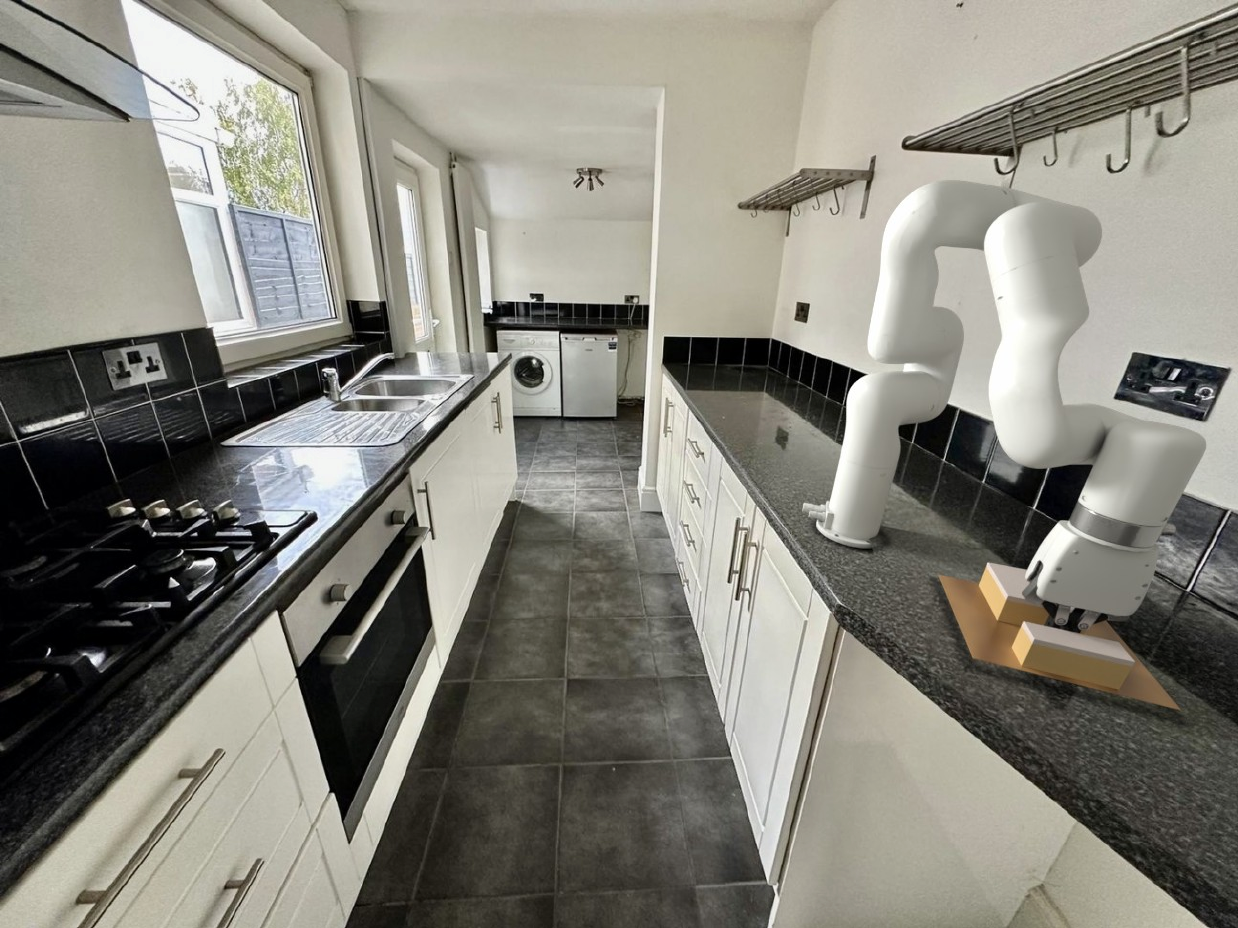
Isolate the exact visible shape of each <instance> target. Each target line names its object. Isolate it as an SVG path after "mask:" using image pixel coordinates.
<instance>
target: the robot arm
mask: <svg viewBox="0 0 1238 928" xmlns="http://www.w3.org/2000/svg"><path fill="white" fill-rule="evenodd" d="M1102 238H1103V227H1102V224H1101V222H1100V220H1099V218H1098V216H1097V215H1096V214H1095V213H1094V212H1093V211H1091V210H1090V209H1088V208H1086V207H1083V206H1080V205H1079V206H1078V205H1073V204H1069V203H1067V202H1063V201H1057V200H1055V199H1054V200H1053V199H1050V198H1046V197H1044V196H1040V195H1036V194H1032V193H1029V192H1025V191H1022V190H1018V189H1014V188H1010V187H1006V186H1000V185H994V184H993V185H992V184H986V183H979V182H974V181H967V180H961V179H959V180H957V179H946V180H937V181H933V182H929V183H927V184H925V185H922V186H920V187H918V188H917V189H915V190H913V191H912V192H911V193H909V194H908V195H907V196H906V197H905V198H904V199H903V200H902V201H900V203H899V204H898V205H897V206H896V208H895V209H894V211H893V212H892V213H891V215H890V216H889V219H888V221H887V223H886V226H885V229H884V232H883V235H882V243H881V251H880V268H879V278H878V282H877V288H876V292H875V299H874V303H873V308H872V313H871V319H870V325H869V329H868V335H867V352H868V354H869V356H870V357H871V359H873V361H876V362H878V363H881V364H885V365H903V370H891V371H878V372H874V373H869V374H866V375H864V376H862V377H860V378H859V379H858V380H856V381H855V382H854V383H853V384H852V386H851V387H850V388H849V391H848V393H847V397H846V410H845V411H846V417H845V418H846V420H845V430H844V436H843V441H842V446H841V449H840V456H839V460H838V465H837V468H836V474H835V477H834V482H833V486H832V491H831V495H830V500H826V501H825V504H820V505H817V504H816V505H815V504H813V503H807V502H803V505H802V509H801V511H802V513H806V514H808V518H810V519H816V522H815V526H816V529H817V530H818V531H819V532H820V533H821V535H823V536H824V537H825V538H827V539H829V540H831V541H832V542H835V543H837V544H840V545H842V546H847V547H851V548H857V549H873V545H872V541H871V539H872V538H875V537H876V536H878V535H879V532H880V529H881V524H882V521H883V517H884V513H885V510H886V507H887V503H888V499H889V496H890V492H891V488H892V485H893V482H894V477H895V474H896V470H897V469H898V468H897V467H898V463H899V459H900V455H901V439H900V434H899V427H900V426H904V425H911V424H921V423H926V422H929V421H933V419H935V418H937V417H938V416H940V415H941V414H942V412H943V411H944V410H945V409H946V407H947V405H948V403H949V400H950V397H951V394H952V390H953V386H954V382H955V378H956V375H957V370H958V367H959V363H960V359H961V354H962V352H963V351H962V350H963V348H964V347H963V346H964V341H965V330H964V325H963V323H962V320H961V318H960V316H958V314H957V313H956V312H955V311H953V310H952V309H949V308H947V307H944V306H937V305H936V306H934V304H935V298H936V294H937V293H936V292H937V289H938V286H939V277H940V273H939V264H938V261H937V260H938V259H937V256H936V250H937V249H938V248H941V247H947V248H948V247H949V248H959V249H972V250H979V251H982V252H984V257H985V262H986V267H987V271H988V276H989V281H990V285H991V289H992V294H993V299H994V303H995V308H996V312H997V317H998V322H999V326H1000V331H1001V339H1000V342H999V346H998V348H997V350H996V352H995V355H994V359H993V363H992V367H991V371H990V375H989V381H988V401H989V406H990V413H991V417H992V421H993V422H992V423H993V426H994V430H995V433H996V436H997V439H998V440H997V441H998V442H999V444H1000V446H1001V448H1002V450H1003V451H1004V452H1005V454H1006V455H1007V457H1009V459H1010V460H1012V461H1013V462H1014V463H1017V464H1018V465H1021V466H1023V467H1025V468H1029V469H1038V470H1040V469H1041V470H1043V469H1052V468H1059V467H1064V466H1069V465H1092V468H1091V470H1090V472H1089V475H1088V477H1087V479H1086V481H1085V483H1084V485H1083V487H1082V490H1081V492H1080V495H1079V497H1078V499H1077V501H1076V503H1075V506H1074V507H1073V510H1072V512H1071V514H1070V517H1069V519H1068V520H1064V519H1063V520H1062V519H1061V520H1058V522H1057V523H1056V524H1055V526H1054V527H1053V528H1052V529H1051V530H1050V532H1049V533H1048V534H1047V535H1046V537H1044V540H1043V541H1042V543H1041V544H1040V545H1039V547H1038V549H1037V551H1036V552H1035V554H1034V556H1033V557H1032V559H1031V561H1030V563H1029V565H1028V567H1027V569H1026V570H1027V572H1026V575H1025V578H1026V580H1027V581H1028V582H1030V584H1029V585H1028V586H1027V587H1026V588H1025V589H1024V590H1023V592H1022V595H1023V596H1024V598H1025V599H1026V601H1028V602H1030V603H1033V604H1035V605H1038V606H1041V607H1044V608H1045V610H1046V611H1047V612H1048V613H1049V616H1048V618H1047V620H1046V622H1045V624H1044V626H1047V627H1052V628H1056V629H1061V630H1066V631H1070V632H1075V633H1079V634H1080V633H1081V631H1082V630H1088V629H1089V628H1090V627H1091V626H1092V625H1093V624H1096V623H1099V622H1103V621H1105V620H1106V621H1107V622H1128V621H1129V619H1130V616H1132V615H1133V614H1135V613H1136V612H1137V610H1138V609H1139V608H1140V606H1141V605H1142V603H1143V601H1144V599H1145V597H1146V595H1147V593H1148V591H1149V588H1150V586H1151V583H1152V580H1153V578H1154V575H1155V572H1156V568H1157V565H1158V559H1159V553H1160V547H1159V545H1158V544H1157V543H1158V542H1159V540H1160V538H1161V536H1168V537H1169V536H1170V537H1172V536H1174V535H1175V534H1176V531H1177V528H1176V526H1175V524H1171V523H1168V520H1169V519H1170V517H1171V515H1172V513H1173V512H1174V509H1175V508H1176V506H1177V505H1178V503H1179V500H1181V497H1182V495H1183V493H1184V491H1185V490H1186V488H1187V486H1188V484H1189V482H1190V481H1191V479H1192V477H1193V475H1194V473H1195V471H1196V469H1197V467H1198V466H1199V464H1200V462H1201V460H1202V458H1203V456H1204V454H1205V452H1206V449H1207V441H1206V438H1205V437H1204V436H1203V435H1202V434H1201V433H1199V432H1196V431H1195V430H1192V429H1190V428H1186V427H1182V426H1179V425H1174V424H1170V423H1166V422H1165V423H1164V422H1161V421H1160V422H1159V421H1153V420H1144V419H1141V418H1137V417H1134V416H1131V415H1128V414H1125V413H1123V412H1121V411H1118V410H1115V409H1112V408H1110V407H1106V406H1103V405H1101V404H1095V403H1088V402H1087V403H1085V402H1081V403H1080V402H1079V403H1069V404H1067V403H1066V404H1064V403H1063V398H1062V394H1061V389H1060V384H1059V364H1060V358H1061V355H1062V353H1063V350H1064V349H1065V347H1066V345H1067V343H1068V342H1069V340H1070V339H1071V338H1072V337H1073V336H1074V335H1075V334H1076V333H1077V331H1078V330H1080V328H1081V327H1082V326H1083V325H1085V323H1086V322H1087V321H1088V319H1089V316H1090V307H1089V302H1088V299H1087V294H1086V290H1085V287H1084V283H1083V278H1082V273H1081V269H1080V268H1081V267H1082V266H1084V265H1085V264H1086V263H1088V261H1090V260H1091V259H1092V258H1093V257H1094V256H1095V254H1096V253H1097V251H1098V249H1099V248H1100V245H1101V242H1102ZM1071 607H1072V608H1071Z"/></svg>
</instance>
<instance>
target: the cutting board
mask: <svg viewBox="0 0 1238 928" xmlns="http://www.w3.org/2000/svg"><path fill="white" fill-rule="evenodd" d="M938 578H939V580H940V583H941V585H942V588H943V589H944V592H945V595H946V597H947V599H948V601H949V602H948V603H949V605H950V606H951V609H952V611H953V614H954V617H955V619H956V621H957V623H958V626H959V628H960V631H961V633H962V635H963V638H964V640H965V642H966V645H967V647H968V649H969V652H970V654H971V655H970V656H971V657H972V659H973V660H979V661H982V662H986V663H990V664H994V665H998V666H1002V667H1006V668H1009V669H1014V670H1019V671H1022V672H1025V673H1030V674H1034V675H1038V676H1043V677H1046V678H1051V679H1054V680H1058V681H1062V682H1065V683H1069V684H1074V685H1078V686H1082V687H1085V688H1090V689H1094V690H1097V691H1102V692H1106V693H1109V694H1114V695H1117V696H1122V697H1126V698H1130V699H1134V700H1138V701H1142V702H1145V703H1149V704H1153V705H1158V706H1162V707H1166V708H1168V709H1169V708H1170V709H1173V710H1177V711H1178V710H1179V711H1182V709H1181V708H1180V707H1179V706H1178V704H1177V703H1176V702H1175V700H1173V698H1172V697H1171V696H1170V695H1169V693H1168V692H1167V691H1166V690H1165V688H1163V686H1162V685H1161V683H1159V682H1158V680H1157V679H1156V678H1155V677H1154V676H1153V675H1152V674H1151V673H1152V672H1150V671H1149V670H1148V668H1147V667H1146V666H1145V665H1144V664H1143V662H1142V661H1141V660H1140V659H1139V658H1138V657H1137V655H1136V654H1135V653H1134V652H1133V651H1132V649H1131V648H1130V646H1128V645H1127V644H1126V642H1125V641H1124V640H1123V639H1122V638H1121V636H1120V635H1119V634H1118V633H1117V632H1116V631H1115V629H1114V628H1113V627H1112V626H1111V625H1110V624H1109V623H1108V622H1109V621H1108V620H1105V621H1103V622H1099V623H1096V624H1093V625H1092V626H1091V627H1090V628H1089V629H1088V630H1087V631H1086V633H1085V635H1088V636H1093V637H1097V638H1102V639H1106V640H1111V641H1115V642H1119V643H1120V644H1121V645H1122V647H1123V648H1124V649H1125V650H1126V651H1127V653H1128V654H1129V655H1130V656H1131V657H1132V659H1133V660H1134V661H1135V663H1134V665H1133V666H1132V669H1131V670H1130V672H1129V674H1128V675H1127V677H1126V679H1125V680H1124V682H1123V684H1122V686H1121V687H1120V689H1119V690H1117V689H1113V688H1109V687H1105V686H1101V685H1097V684H1093V683H1089V682H1085V681H1081V680H1077V679H1073V678H1068V677H1064V676H1060V675H1056V674H1052V673H1048V672H1044V671H1040V670H1036V669H1032V668H1028V667H1024V666H1021V664H1020V662H1019V660H1018V659H1017V657H1016V655H1015V653H1014V651H1013V649H1012V646H1013V643H1014V641H1015V639H1016V637H1017V635H1018V632H1019V630H1020V628H1021V626H1019V625H1014V624H1010V623H1005V622H1001V621H997V619H996V617H995V615H994V614H993V612H992V610H991V608H990V606H989V604H988V602H987V600H986V598H985V597H984V595H983V593H982V591H981V589H980V587H979V584H980V582H976V581H973V580H972V581H971V580H967V579H962V578H958V577H952V576H947V575H943V574H938Z"/></svg>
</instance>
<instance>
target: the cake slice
mask: <svg viewBox="0 0 1238 928" xmlns="http://www.w3.org/2000/svg"><path fill="white" fill-rule="evenodd" d="M1012 649H1013V651H1014V653H1015V655H1016V657H1017V659H1018V660H1019V662H1020V664H1021V666H1024V667H1028V668H1032V669H1036V670H1040V671H1044V672H1048V673H1052V674H1056V675H1060V676H1064V677H1068V678H1073V679H1077V680H1081V681H1085V682H1089V683H1093V684H1097V685H1101V686H1105V687H1109V688H1113V689H1117V690H1119V689H1120V687H1121V686H1122V684H1123V682H1124V680H1125V679H1126V677H1127V675H1128V674H1129V672H1130V670H1131V669H1132V666H1133V665H1134V663H1135V661H1134V660H1133V659H1132V657H1131V656H1130V655H1129V654H1128V653H1127V651H1126V650H1125V649H1124V648H1123V647H1122V645H1121V644H1120V643H1119V642H1115V641H1111V640H1106V639H1102V638H1097V637H1093V636H1088V635H1084V634H1079V633H1075V632H1070V631H1066V630H1061V629H1056V628H1052V627H1047V626H1043V625H1038V624H1034V623H1029V622H1025V621H1024V622H1023V624H1022V626H1021V628H1020V630H1019V632H1018V635H1017V637H1016V639H1015V641H1014V643H1013V646H1012Z"/></svg>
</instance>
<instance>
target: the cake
mask: <svg viewBox="0 0 1238 928" xmlns="http://www.w3.org/2000/svg"><path fill="white" fill-rule="evenodd" d="M1026 572H1027V569H1025V568H1021V567H1013V566H1010V565H1004V564H1000V563H999V564H998V563H994V562H987V563H986V566H985V569H984V570H983V574H982V576H981V579H980V581H979V583H980V584H979V587H980V589H981V591H982V593H983V595H984V597H985V598H986V600H987V602H988V604H989V606H990V608H991V610H992V612H993V614H994V615H995V617H996V619H997V621H1001V622H1005V623H1010V624H1014V625H1019V626H1022V624H1023V622H1024V621H1025V622H1029V623H1034V624H1038V625H1043V626H1044V624H1045V622H1046V620H1047V618H1048V616H1049V613H1048V612H1047V611H1046V610H1045V608H1044V607H1041V606H1038V605H1035V604H1033V603H1030V602H1028V601H1026V599H1025V598H1024V596H1023V595H1022V592H1023V590H1024V589H1025V588H1026V587H1027V586H1028V585H1029V584H1030V582H1028V581H1027V580H1026V578H1025V575H1026ZM1071 608H1072V607H1071ZM1086 631H1087V630H1082V631H1081V633H1080V634H1084V635H1085V633H1086Z"/></svg>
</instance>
